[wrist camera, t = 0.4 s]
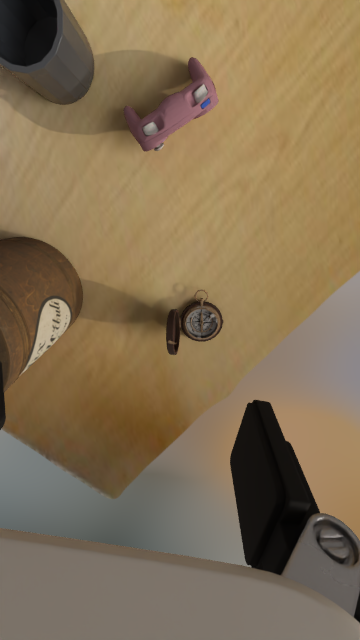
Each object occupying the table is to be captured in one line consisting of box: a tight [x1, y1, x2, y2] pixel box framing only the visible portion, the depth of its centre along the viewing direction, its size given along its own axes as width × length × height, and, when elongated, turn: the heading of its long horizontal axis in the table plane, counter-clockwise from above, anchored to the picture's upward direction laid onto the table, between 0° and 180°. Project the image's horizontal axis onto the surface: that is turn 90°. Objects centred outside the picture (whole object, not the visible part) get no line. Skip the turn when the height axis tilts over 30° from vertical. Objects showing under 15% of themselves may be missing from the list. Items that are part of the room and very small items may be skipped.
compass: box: [166, 290, 223, 355], centre depth 39 cm, size 8×8×7 cm
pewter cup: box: [0, 0, 94, 105], centre depth 28 cm, size 8×8×8 cm
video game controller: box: [124, 57, 218, 151], centre depth 31 cm, size 10×5×7 cm, turn 120°
